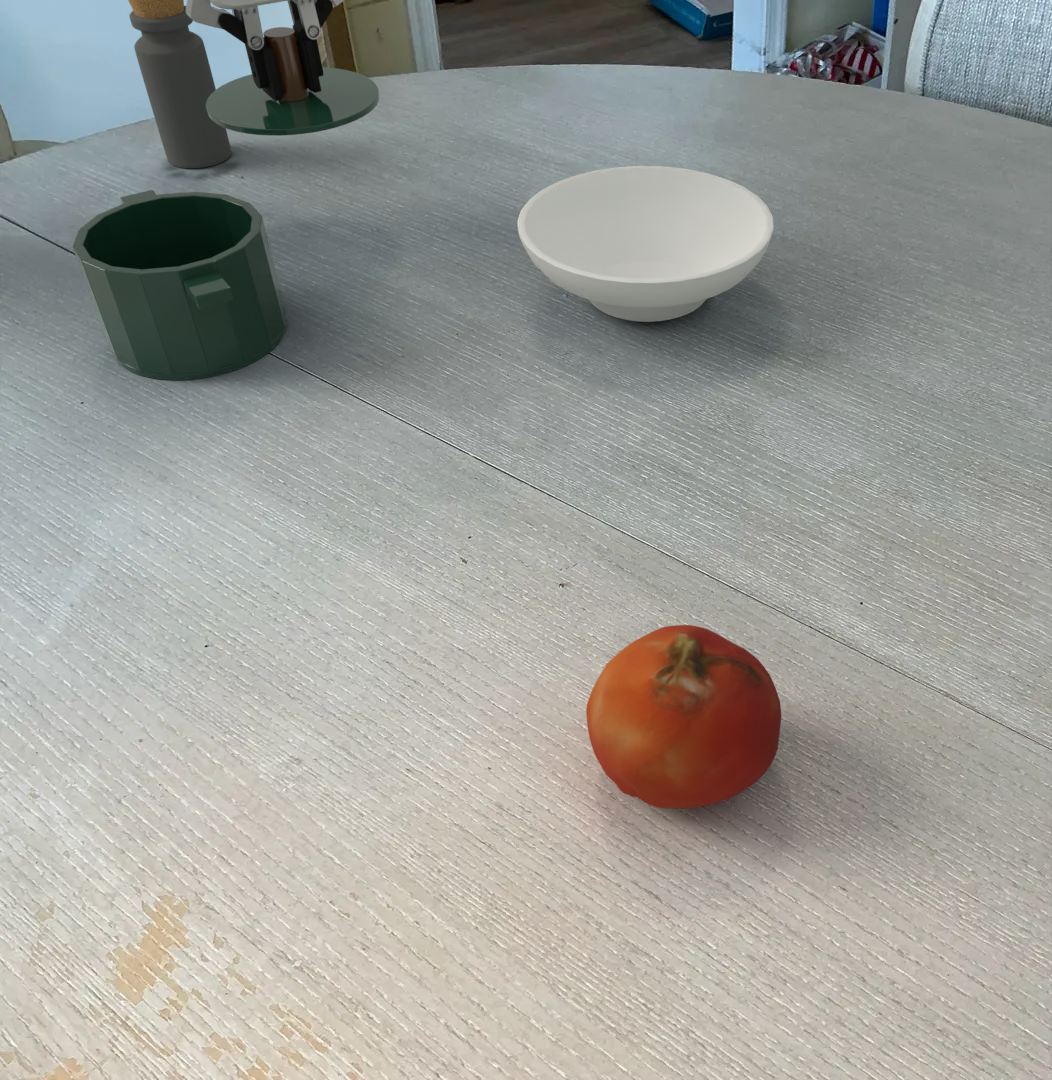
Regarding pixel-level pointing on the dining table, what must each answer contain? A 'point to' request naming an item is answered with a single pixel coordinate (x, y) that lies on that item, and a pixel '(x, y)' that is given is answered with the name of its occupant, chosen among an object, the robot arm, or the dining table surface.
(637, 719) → the tomato
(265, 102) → the lid
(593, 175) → the bowl
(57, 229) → the dining table surface
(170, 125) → the bottle
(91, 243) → the pot
